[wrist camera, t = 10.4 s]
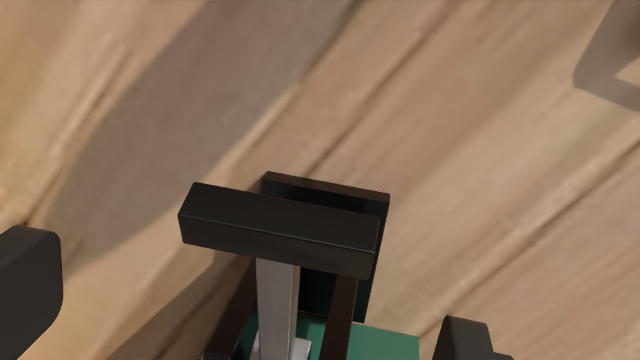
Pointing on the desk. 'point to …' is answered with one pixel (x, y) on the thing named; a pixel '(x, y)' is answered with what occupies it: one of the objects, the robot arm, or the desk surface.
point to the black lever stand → (305, 276)
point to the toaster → (354, 340)
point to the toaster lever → (279, 252)
